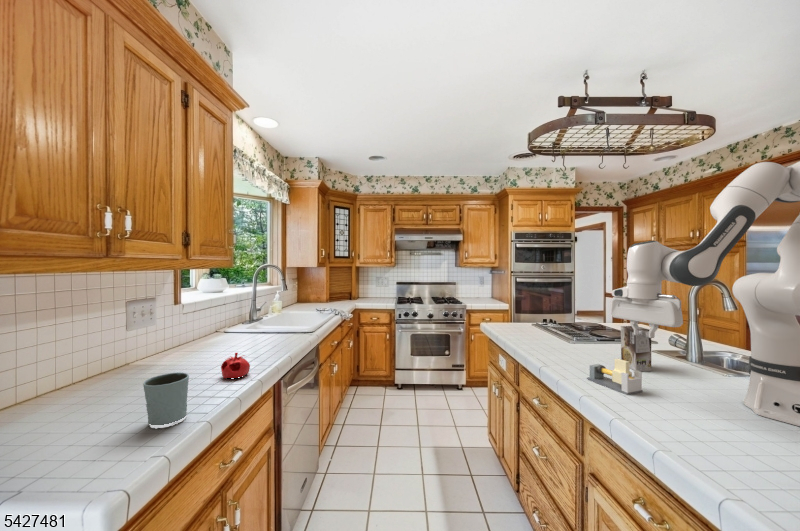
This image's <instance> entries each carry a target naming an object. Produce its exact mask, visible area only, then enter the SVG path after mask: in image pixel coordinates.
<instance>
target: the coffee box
mask: <svg viewBox="0 0 800 531" xmlns="http://www.w3.org/2000/svg"><path fill="white" fill-rule="evenodd" d="M638 327H639V329H640V330H642V336H637V335H634V329H633V328H632V326H631V325H623V326H622V325H621V326H620V350H621V352H620V353H621V354H620V356H621V357H620V358H621V360H624V361H628V362H629V369H630V370H633V371H634V370H637V371H640V372H652V338H647V337H646V332H649V330H650V329H649V328H645V327H640V326H638Z"/></svg>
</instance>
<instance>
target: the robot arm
mask: <svg viewBox="0 0 800 531" xmlns="http://www.w3.org/2000/svg"><path fill="white" fill-rule="evenodd" d="M774 202H778V203H784V204H785V203H786V204H788V203H789V204H790V203H791V204H792V203H793V204H794V203H798V202H800V161H797V162H796V163H793V164H791V165H788V166H784V165H782V164H780V163H777V162H774V161H773V162H772V161H762V162H757V163H754V164H752V165H751V166H749V167H748V168H746V169H745V170H744V171H743V172H741V173H740V174H738V175H737V176H736V177H735V178H734V179H733V180H732V181H730V183H728V184H727V185H726V187H724V188H723V189H722V191H721V192H720V193H719V194H718V195H716V197H715V198H714V199H713V201H712V203H711V204H710V206H709V210H710V211H709V212H710V215H711V216H712V218H713V219H714V220H715V221H716V224H715V225H714V226H713V228H712V229H711V230H710V231H709V232H708V233H707V234H706V236H704V238H703V239H702V240H701V241H700V243H699V244H697V245H696V246H693V247H692V248H690V249H687V250H678V249H674V248H670V247H668V246H666V245H664V244H662V243H660V242H659V241H658V240H648V241H641V242H637V243H636V242H635V243H634V244H632V245H630V246H629V248H628V251H627V256H626V272H627V280H626V286H623V287H620V288H617V289H613V290H611V296H612V298H611V300H610V316H611V317H612V318H614V319H619V320H620V319H621V320H625V321H627V320H628V321H629V325H630V326H632V328H633V329H634V335H637V336H642V330H640V329H639V327H640V326H639V323H645V324H648V327H649V328H650V329H649V332H646V337H647V338H651V339H655V333H656V332H657V330H658V329H659V326H661V327H662V326H663V327H668V328H669V327H670V328H680V327H681V326H682V325H683V324H684V319H683V318H684V317H683V311H682V300H681V299H680V298H679V297H677V296H676V295H675V294H663V293H662V292H663V291H662V286H663V284H662V282H663V281H667V282H671V283H678V284H682V285H685V286H690V287H701V286H704V285H707V284H709V283H711V282H713V280H714V279H715V278H716V277H717V276H718V274H719V272H720V268H721V267H722V266H721V265H722V263H723V261H724V259H725V257H726V256H727V255H728V254H729V253H730V252H731V251H732V250H733V248H734V247H735V245H737V243H738V242H739V241H740V240H741V239H742V238H743V237H744V235H745V234H746V233H747V232H748V231H749V229H750V228H751V226H752V225H753V224H754V223H755V221H756V220H757V218H759V217H760V216H761V215H762V213H764V211H766V209H767V208H769V206H771V205H772V203H774ZM776 252H777V254H778V256H779V257H780V259H779V266H778V267H777V268H778V269H777V270H776V271H775V272H758V273H752V274H747V275H743V276H740V277H739V278H738V279H736V280H735V281H734V282H733V285H732V288H731V289H732V295H733V296H734V298H735V299H736V300H737V301H738V302H739V304H740V305H741V307H742V309H743V312H744V314H745V317H746V320H747V323H748V326H749V331H750V356H748V374H749V375H750V376H749V382H748V388H747V390H746V391H747V392H746V394H745V397H744V399H743V402H742V403H743V405H745V406H746V407H747V408H749V409H751V410H752V411H753V412H754V414H756V415H759V416H760V417H764V418H768V419H772V420H776V421H778V422H779V421H780V422H782V423H787V424H790V425H794V426H798V427H800V323H799V322H798V319H797V316H800V213H799V215H798V216H796V218H795V220H794V221H793V222H792V224H791V225H790V227H789V229H788V230H787V231H786V234H784V236H783V238H782V239H781V241H780V242H779V244H778V245H777V248H776Z"/></svg>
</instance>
